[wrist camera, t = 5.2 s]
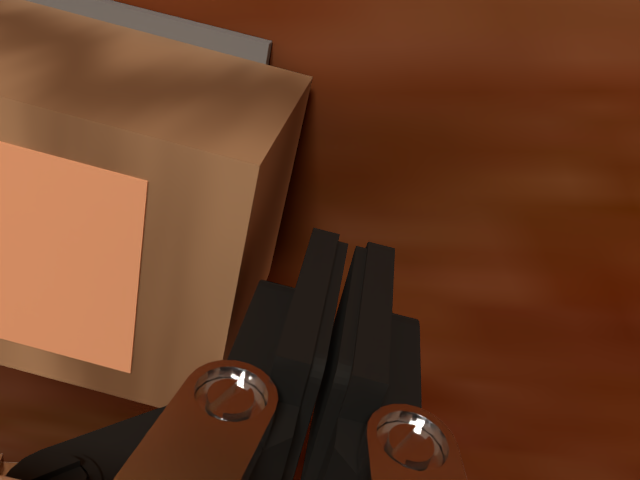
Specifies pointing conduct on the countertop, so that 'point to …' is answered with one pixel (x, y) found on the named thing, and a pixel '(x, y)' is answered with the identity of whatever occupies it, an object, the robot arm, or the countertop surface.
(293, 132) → the block
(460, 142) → the countertop surface
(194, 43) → the mat
